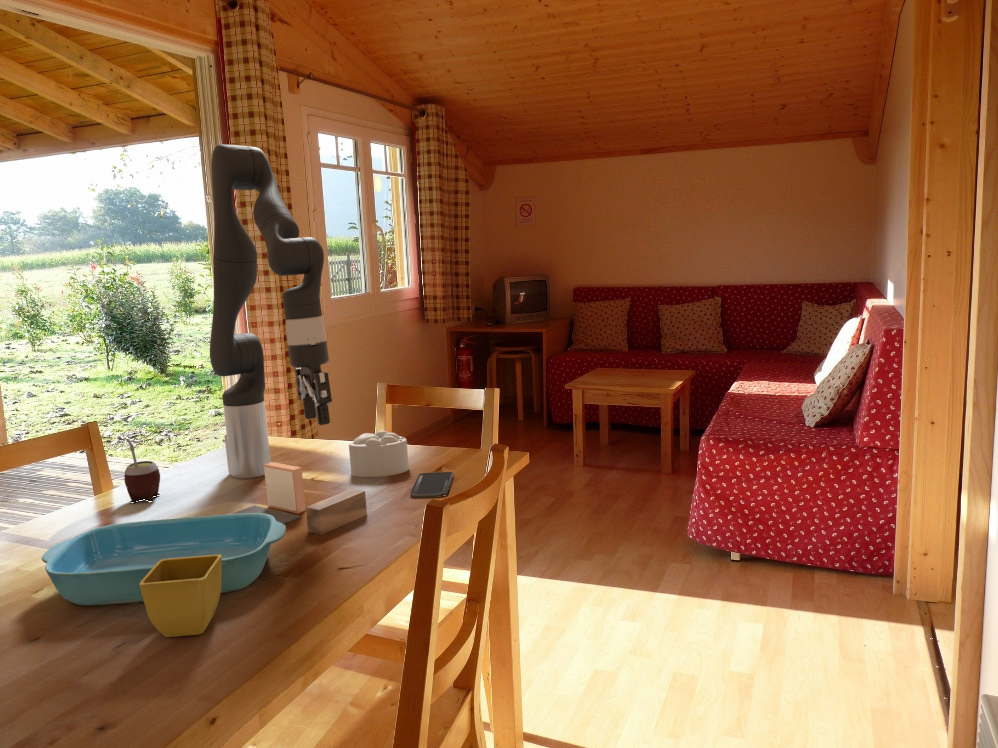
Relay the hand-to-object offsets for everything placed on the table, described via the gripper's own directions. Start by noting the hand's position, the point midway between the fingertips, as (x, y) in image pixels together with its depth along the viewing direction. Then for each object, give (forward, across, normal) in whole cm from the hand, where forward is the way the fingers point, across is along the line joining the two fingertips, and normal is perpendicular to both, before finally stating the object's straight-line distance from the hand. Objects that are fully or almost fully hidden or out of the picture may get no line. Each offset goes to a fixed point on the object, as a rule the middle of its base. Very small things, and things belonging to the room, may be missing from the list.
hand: (317, 421), depth 155 cm
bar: (+18, +10, -2) cm, 21 cm away
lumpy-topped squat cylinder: (+18, -18, +19) cm, 32 cm away
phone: (+19, +1, +23) cm, 30 cm away
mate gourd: (+16, -31, -31) cm, 46 cm away
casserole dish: (+18, +17, -32) cm, 41 cm away
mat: (+17, -2, -13) cm, 22 cm away
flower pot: (+19, +37, -33) cm, 53 cm away
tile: (+18, -5, -7) cm, 20 cm away
